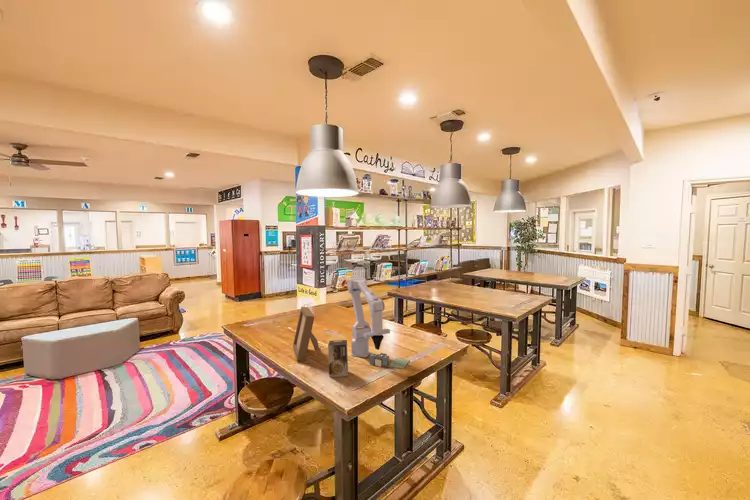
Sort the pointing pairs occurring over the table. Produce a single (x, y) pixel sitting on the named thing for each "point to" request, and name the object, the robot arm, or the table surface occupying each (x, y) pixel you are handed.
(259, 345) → the table surface
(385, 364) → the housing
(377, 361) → the plug
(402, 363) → the mat
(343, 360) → the coffee box
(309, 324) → the photo frame
